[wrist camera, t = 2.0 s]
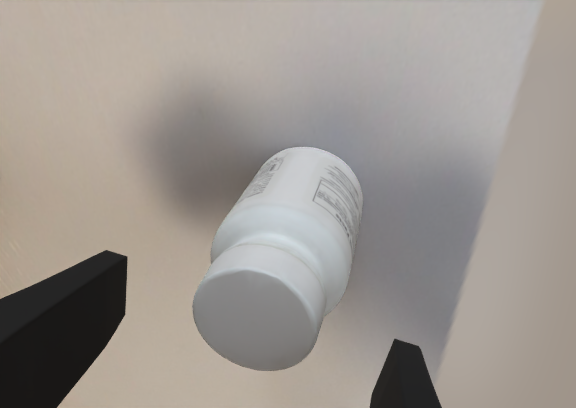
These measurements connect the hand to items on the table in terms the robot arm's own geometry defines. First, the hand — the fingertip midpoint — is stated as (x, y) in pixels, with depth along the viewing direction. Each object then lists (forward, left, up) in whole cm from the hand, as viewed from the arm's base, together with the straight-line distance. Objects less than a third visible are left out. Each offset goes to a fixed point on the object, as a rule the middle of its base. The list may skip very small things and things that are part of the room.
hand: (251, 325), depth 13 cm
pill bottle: (0, 0, -8) cm, 8 cm away
